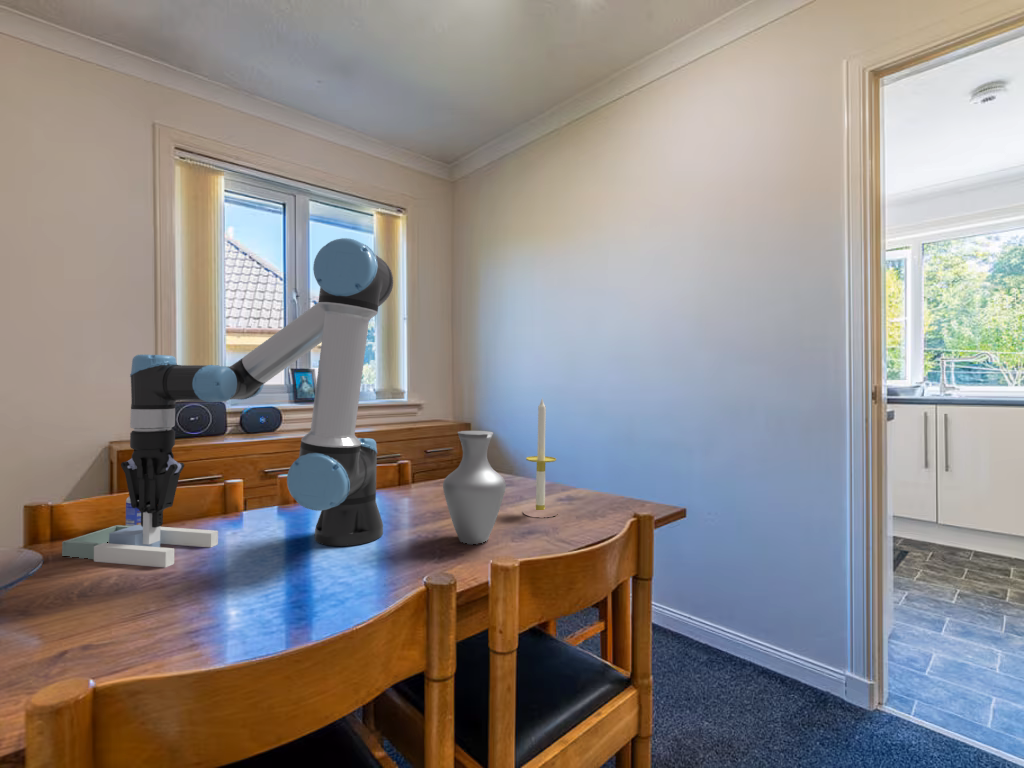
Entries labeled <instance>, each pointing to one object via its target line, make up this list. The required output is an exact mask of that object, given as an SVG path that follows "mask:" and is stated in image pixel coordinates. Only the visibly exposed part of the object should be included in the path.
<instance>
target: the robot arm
mask: <svg viewBox="0 0 1024 768" xmlns="http://www.w3.org/2000/svg"><path fill="white" fill-rule="evenodd" d="M312 270H313V276H314V278H315V281H316V283H317V284H318V286H319V287H320V288H319V294H318V301H317V303H315V304H314V305H312V307H309V308H308V309H307V310H306V311H305V312H303V313H302V314H300V315H299V316H297V317H296V318H295V319H294V320H292V321H291V322H289V324H287V325H285V326H284V327H282V328H281V329H280V330H278V331H277V332H275V334H273V335H272V336H270V337H269V338H267V339H266V340H265V341H264V342H262V343H261V344H260V345H258V346H257V347H255V348H254V349H252V350H251V351H250V352H248V353H247V354H245V355H244V356H243V357H242V358H240V359H239V360H238V361H236V362H234V363H233V364H232V365H230V366H227V365H226V366H225V365H215V364H208V365H205V364H202V365H201V364H200V365H199V364H198V365H197V364H195V365H194V364H193V365H191V364H190V365H189V364H188V365H187V364H184V365H183V364H177V358H176V357H175V356H173V355H170V354H169V355H168V354H167V355H166V354H136V355H135V356H133V357H132V359H131V360H132V361H131V370H130V374H129V375H130V376H129V377H130V396H131V397H130V398H131V401H130V402H131V404H130V419H129V420H130V423H129V424H130V425H129V426H130V427H129V428H131V429H133V430H131V432H130V433H129V434H130V436H129V447H130V449H132V450H133V452H132V454H131V458H130V459H129V460H126V461H122V462H121V463H120V467H121V469H122V471H123V473H124V475H125V480H126V486H127V490H128V497H130V501H131V506H132V508H137V509H139V511H140V512H141V526H142V527H143V544H148V545H149V544H152V543H155V542H157V541H160V527H163V523H164V510H166V509H168V508H172V507H173V504H174V501H175V497H176V493H177V487H178V483H179V478H180V475H181V472H182V471H183V469H184V467H185V463H184V462H178V461H176V459H174V458H175V457H174V454H173V453H174V452H173V451H172V450H173V447H174V446H175V444H176V431H175V430H174V429H173V428H174V427H175V426H176V404H177V403H176V402H183V401H184V402H202V403H203V402H204V403H221V402H227V401H229V400H231V401H232V400H247V399H250V398H254V397H256V396H257V395H259V394H260V393H261V392H262V390H263V388H264V386H265V384H266V383H268V382H269V381H270V380H272V379H273V378H275V376H277V375H279V373H281V372H282V371H284V370H285V369H286V368H288V367H289V366H291V365H293V363H295V362H296V361H298V360H300V358H302V357H303V356H304V355H307V354H308V353H309V352H310V351H311V350H313V349H315V348H316V347H318V346H319V345H320V344H321V345H320V354H319V360H318V361H319V362H318V370H317V378H316V386H315V394H314V399H313V400H314V401H313V408H312V418H311V424H310V425H311V426H310V431H309V432H308V433H306V434H305V435H304V436H303V437H301V440H300V447H299V455H298V458H297V459H295V460H294V461H293V462H292V464H291V465H290V467H289V469H288V472H287V476H286V484H287V489H288V491H289V494H290V495H291V497H292V498H293V499H294V500H295V501H296V503H297V504H298V505H300V506H302V507H303V508H304V509H308V510H311V511H316V512H319V511H320V514H319V517H318V520H317V522H316V525H315V529H314V540H315V542H316V543H319V544H321V545H326V546H334V547H348V546H357V545H362V544H367V543H370V542H374V541H376V540H378V539H379V538H381V537H382V536H383V534H384V524H383V519H382V517H381V513H380V511H379V508H378V507H379V506H378V504H377V496H376V495H377V463H378V461H377V457H378V448H377V441H376V440H375V439H374V438H368V437H367V438H366V437H365V438H364V437H363V438H362V437H357V436H356V425H357V418H358V410H359V402H360V394H361V384H362V379H363V378H362V377H363V369H364V362H365V355H366V354H365V353H366V347H367V339H368V338H367V337H368V330H369V322H370V320H371V319H373V317H375V316H377V315H378V313H379V307H380V306H382V305H383V304H384V303H385V302H386V301H387V300H388V298H389V297H390V295H391V293H392V291H393V287H394V277H393V274H392V273H393V272H392V270H391V268H390V266H389V265H388V263H386V261H385V260H383V258H381V257H380V256H378V254H376V253H375V252H374V250H372V248H371V247H369V246H368V245H366V244H364V243H362V242H360V241H358V240H357V239H352V238H347V237H345V238H343V237H340V238H337V239H333V240H331V241H329V242H327V243H326V244H325V245H323V246H322V247H321V248H320V249H319V251H318V252H317V254H316V255H315V258H314V262H313V267H312ZM138 500H139V501H138Z"/></svg>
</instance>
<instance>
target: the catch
mask: <svg viewBox="0 0 1024 768" xmlns="http://www.w3.org/2000/svg"><path fill="white" fill-rule="evenodd" d="M128 527H131V526H126V525H121V524H117V525H113V526H110V527H107V528H103V529H99V530H96V531H94V532H90V533H87V534H83V535H80V536H76V537H74V538H70V539H67V540H64V541H62V544H61V557H62V556H70V557H69V558H72V557H79V558H78V559H84V558H88V559H87V560H94V546H96V545H99V544H102V543H107V542H108V543H109V533H112V532H115V531H118V530H122V529H125V528H128Z"/></svg>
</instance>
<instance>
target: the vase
mask: <svg viewBox="0 0 1024 768" xmlns="http://www.w3.org/2000/svg"><path fill="white" fill-rule="evenodd" d="M457 435H458V438H459V441H460V444H461V447H462V457H461V461H460V463H459V465H458V467H457V468H456V469H455V470H453V471H452V472H450V473H449V474H448V475H447V476H446V477H445V479H444V480H443V483H442V489H443V495H444V498H445V502H446V505H447V509H448V513H449V516H450V518H451V519H450V520H451V523H452V525H453V528H454V530H455V532H456V535H457V537H458V540H459V542H460V543H462V542H463V543H462V544H465V543H467V544H466V545H473V544H476V545H479V544H478V543H482V544H484V543H483V542H485V541H486V542H488V541H489V538H490V535H491V533H492V531H493V529H494V526H495V524H496V521H497V519H498V514H499V513H500V509H501V505H502V502H503V500H504V496H505V492H506V486H507V485H506V481H505V478H504V477H503V475H501V474H500V473H498V472H497V471H496V470H494V469H493V467H492V466H491V464H490V462H489V460H488V448H489V445H490V442H491V440H492V437H493V435H494V432H492V431H487V430H461V431H457ZM487 540H488V541H487ZM486 542H485V543H486Z"/></svg>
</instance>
